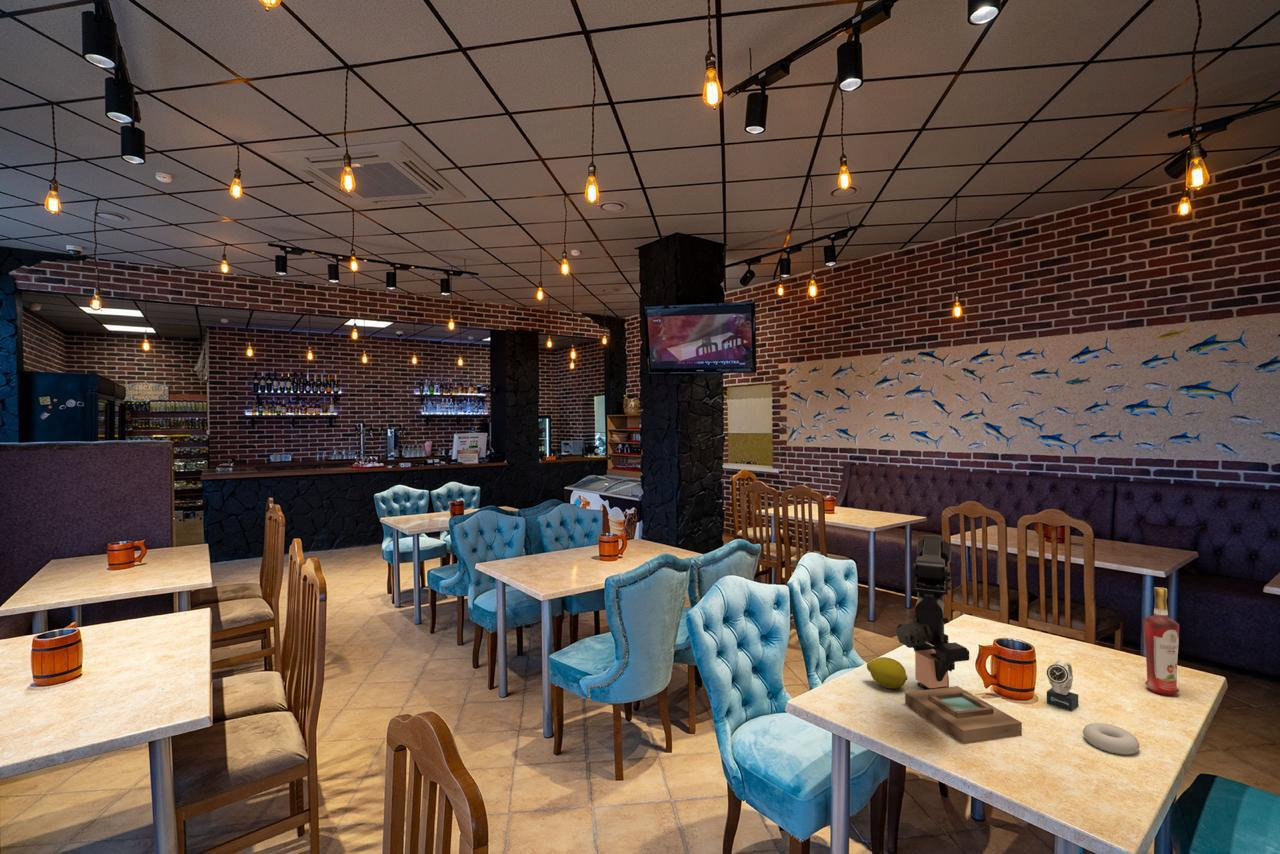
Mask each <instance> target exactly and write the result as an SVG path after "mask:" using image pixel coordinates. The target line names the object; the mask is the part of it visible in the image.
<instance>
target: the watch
mask: <svg viewBox="0 0 1280 854" xmlns="http://www.w3.org/2000/svg"><path fill="white" fill-rule="evenodd" d="M1046 676H1047V679H1048V682H1049V684H1050V686H1051V688H1050V689H1048V690H1047V691H1046V704H1049V705H1051V706H1054V707H1057V708H1060V709H1063V710H1066V711H1070V712H1073V711H1075V710H1076V709H1077V708H1079V694H1077V693H1074V692H1072V691H1071V690H1072V686H1073V680H1074V675H1073V666H1072V665H1071V663H1070V662H1066V661H1062V660H1056V661H1054V662H1053V663H1052V664H1051V665H1049V666H1048V667H1047V669H1046ZM1070 691H1071V692H1070Z"/></svg>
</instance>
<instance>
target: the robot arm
mask: <svg viewBox="0 0 1280 854" xmlns="http://www.w3.org/2000/svg"><path fill="white" fill-rule="evenodd" d="M951 548H952V547H951V544H950V542H948V541H945V540H944V536H941V535H938V534H937V535H936V534H925V535H922V538H921V539H920V540H918V541H917V542H916V560H915V563H913V564H912V579H911V581H912V583H911V591H912V592H917V601H916V604H915V607H914V608H915V609H914V612H915V613H914V614H913V616H912V621H911V622H903V623H899V624H898V626H897V627H896V629H895V634H896V636H897V640H898V642H899V643H900V644H902V645H903V646H906V647H907V648H909V649H913V651H914V652H915V651H920V650H930V649H934V650H935V651H936V653H935V654H930V656H931V657H932V658H933V659H934V660H935V671H936V679H937V681H942V679H943V678H944V676H945V674H946V672H947V671H948V672H952V671H954V670H955V669H956V667H955V665H956V664H955V663H958V662H959V663H960V662H966V661H970V651H969V649H968V648H967V647H965V646H963V645H961V644H959V643H958V642H950V641H949V635H947V634H945V624H948V623H949V618H947V617H945V595H947V596H948V595H949V591H951V588H952V587H951V584H952V582H951V581H952V576H951V575H952V572H951V570H950V569H949V563H951V562H952V553H951V551H952V549H951ZM944 587H945V588H944ZM949 680H950V679H949V675H948V686H945V687H937V688H928V687H927V686H925V685H923V684H922V683H920V682H919V681H917V685H918V687H921V688H922V689H923V690H929V689H938V688H946V687H950V686H949V685H950V683H949Z"/></svg>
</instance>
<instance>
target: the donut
mask: <svg viewBox="0 0 1280 854" xmlns="http://www.w3.org/2000/svg"><path fill="white" fill-rule="evenodd" d="M1082 734H1083V736H1084V738H1085V740H1086V741H1087V742H1088V743H1089V744H1091V745H1092V746H1094V747H1095V748H1097V749H1100V750H1102V751H1103V752H1108V753H1111V754H1115V755H1123V756H1124V755H1126V756H1128V755H1133V754H1135V753H1137V752H1138V751H1139V749H1140V746H1141V745H1140V742H1139V740H1138V739H1137V738H1138V737H1136V736H1135V735H1134V734H1133V733H1131V732H1130V731H1128V730H1127V729H1124V728H1122V727H1119V726H1117V725H1113V724H1109V723H1103V722H1092V723H1088V724H1086V725H1085V726H1084V728H1083V729H1082Z"/></svg>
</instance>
